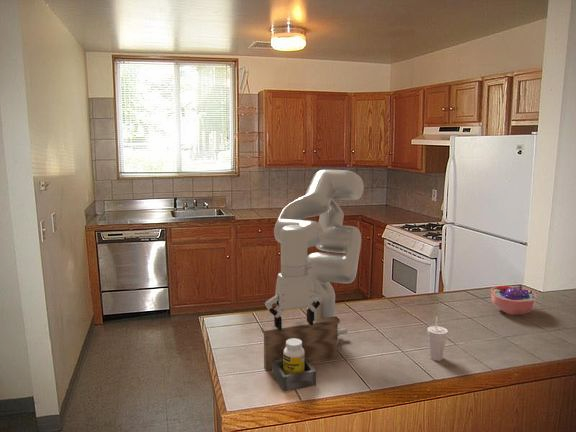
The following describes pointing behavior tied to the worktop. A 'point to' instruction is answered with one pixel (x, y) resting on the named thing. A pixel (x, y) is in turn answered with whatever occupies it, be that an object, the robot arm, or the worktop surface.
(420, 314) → the worktop surface
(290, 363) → the pill bottle
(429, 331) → the smoothie
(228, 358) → the worktop surface
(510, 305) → the cell model
